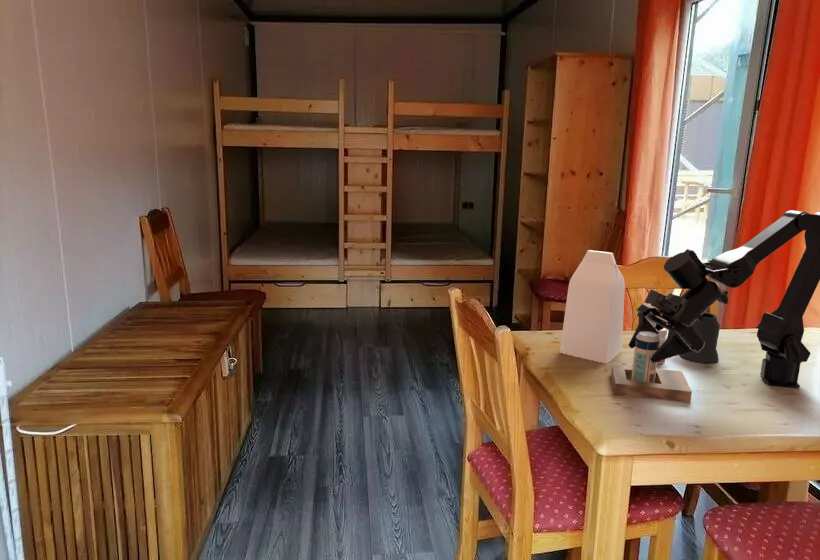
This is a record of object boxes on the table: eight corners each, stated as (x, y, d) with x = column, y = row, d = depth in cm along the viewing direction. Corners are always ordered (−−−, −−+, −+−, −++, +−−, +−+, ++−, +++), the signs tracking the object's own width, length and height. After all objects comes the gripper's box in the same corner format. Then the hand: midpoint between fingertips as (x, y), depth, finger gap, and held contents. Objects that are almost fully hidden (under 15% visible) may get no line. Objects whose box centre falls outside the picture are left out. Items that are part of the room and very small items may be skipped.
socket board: (680, 381, 140) (682, 371, 139) (690, 403, 128) (691, 391, 128) (610, 374, 143) (611, 364, 143) (614, 394, 132) (615, 383, 131)
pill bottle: (666, 365, 150) (670, 331, 148) (645, 363, 151) (649, 330, 149) (662, 358, 155) (666, 326, 153) (642, 356, 156) (646, 324, 154)
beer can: (653, 384, 138) (659, 332, 135) (654, 391, 133) (660, 338, 131) (630, 380, 139) (636, 329, 136) (630, 388, 135) (636, 335, 132)
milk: (559, 353, 157) (567, 251, 152) (577, 342, 166) (585, 246, 161) (606, 363, 150) (616, 258, 145) (621, 351, 160) (632, 251, 154)
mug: (724, 358, 156) (730, 315, 153) (709, 366, 150) (715, 322, 148) (678, 346, 165) (682, 305, 162) (661, 353, 159) (666, 311, 156)
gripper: (648, 268, 140) (598, 317, 141) (698, 288, 122) (640, 343, 123) (676, 301, 143) (627, 348, 144) (729, 325, 125) (672, 379, 126)
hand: (640, 353), depth 134 cm, fingers open, 9 cm apart
